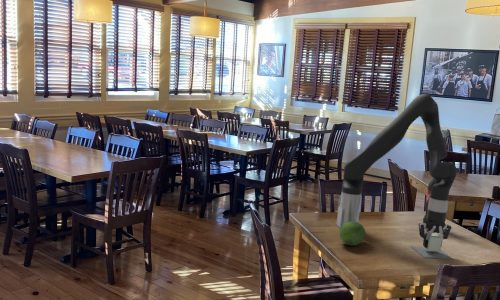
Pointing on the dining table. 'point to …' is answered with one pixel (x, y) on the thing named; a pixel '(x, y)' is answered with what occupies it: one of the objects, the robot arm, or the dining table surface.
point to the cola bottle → (433, 181)
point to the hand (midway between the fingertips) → (431, 247)
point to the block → (434, 243)
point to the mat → (431, 253)
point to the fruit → (352, 233)
